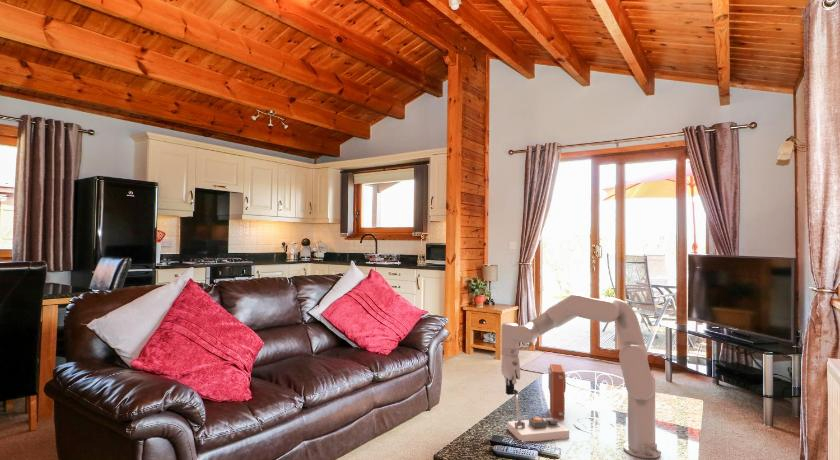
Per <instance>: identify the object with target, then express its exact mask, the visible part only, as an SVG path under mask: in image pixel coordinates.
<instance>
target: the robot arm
mask: <svg viewBox="0 0 840 460" xmlns="http://www.w3.org/2000/svg"><path fill="white" fill-rule="evenodd" d="M576 318H583V319H587V320H591V321H595V322H599V323H605V324H606V323H608V324H609V323H612V322H614V323H615V324H614V325H615V327H616V332H617V336H618V341H619V345H620V350H619V353H618V358H619V364H620V368H621V372H622V378H623V381H624V385H625V389H626V391H627V442H625V443H624V444H623V451H625V452H626V453H627V454H629V455H631V456H634V457H637V458H640V459H641V458H642V459H648V460H649V459H657V458H659V457H660V456H661V454H662V451H661V450H660V449H659V448H658V445H657V443H656V378H655V376H654V374H653V373H652V371H651V369H650V365H649V361H648V357H649V355H648V353H649V352H648V350H647V347H646V345H645V340H644V338H643V332H642V330H641V326H640V322H639V319H638V317H637V314H636V312H635V311H634V309H633V308H632V307H631V306H630V305H629V304H628V303H627V302H625V301H624V300H622V299H619V298H616V297H605V298H603V299H600V298H593V297H590V296H588V295H587V294H586V293H584V292H580V291H578V292H577V291H576V292H573V293H572V294H571V295H569V296H567V297H566V298H564V299H562V300H560V301H559V302H557V303H555V304H553V305H552V306H550V307H549V308H547V310H545V311H544V312H542V313H541V314H540V315H538V316H537V317H535V318H533V319H532V320H529V321H528V322H526V323H524V324H522V325H519V324H518V323H515V322H503V323H502V325H501V331H500V332H501V338H500V339H501V340H500V341H501V343H500V344H501V353H500V355H501V375H502V376H503V377H504V379H505V380H504V381H505V394H506V395H507V396H510V395H514V393H513V391H514V390H515V385H516V384H517V380H520V379H521V365H520V358H519V356H520V343H522V344H530V343H532V342H533V341H534V340H536V339H537V338H539V337H540V336H542V335H544V334H546V333H547V332H548V331H551V330H553V329H554V328H560V327H561V326H563V325H565V324H566V323H568V322H570V321H572V320H574V319H576Z"/></svg>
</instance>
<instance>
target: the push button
mask: <svg viewBox="0 0 840 460" xmlns="http://www.w3.org/2000/svg"><path fill="white" fill-rule="evenodd" d="M539 417H540V416H535V417H532V418H533V421H534V422H542V419H543V418H542V417H541V418H539Z"/></svg>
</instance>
